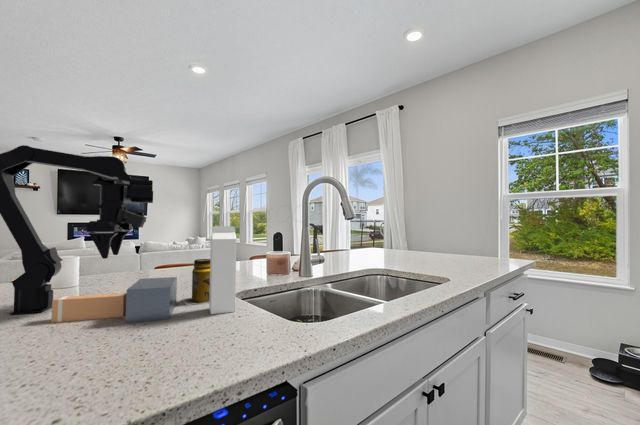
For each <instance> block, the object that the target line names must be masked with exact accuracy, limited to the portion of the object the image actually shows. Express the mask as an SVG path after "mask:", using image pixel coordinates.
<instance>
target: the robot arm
mask: <svg viewBox="0 0 640 425" xmlns="http://www.w3.org/2000/svg"><path fill="white" fill-rule="evenodd" d="M33 164H36V165H37V164H38V165H45V166H50V167H51V166H52V167H56V168H57V167H58V168H64V169H70V170H77V171H85V172H88V173H91V174H94V175H97V176H98V177H97V178H96V179H94V180H93V181H91V184H92V185H94V186H99V187H100V189H99V190H100V191H99V198H100V199H99V204H97V206H96V208H97V209H99V217H98V218H99V219H96V220H90V221H89V222H88V223H86V225H85V232H86V233H88V236H90V238H91V240H92V241H93V243H94V245H95V246H96V249H97V250H98V253H99V255H100V257H101V258H102V259H105V260H106V259H108V257H109V255H110V250H111V252H112V254H113V255H114V256H118V255H119V253H120V249H121V246H122V243H123V240H124V238H125V236H127V235H128V234H130V233H131V231H132V230H133V226H134V227H136V228H144V225H145V223H146V222H147V217H146V216H145V213H144V212H142V211H136V212H135V213H134V212H131V211H128V207H127V206H126V205H125V188H126V199H127V200H130V201H131V203H140V204H141V203H142V204H143V203H144V204H153V203H154V190H153V188H154V187H153V182H154V181H153V180H151V179H146V180H139V179H132V178H131V175H129V174H128V173H127V172H126V170H127V169H126V167H125V164H124V162H123V161H122V159H120V158H119V157H116V156H108V155H105V156H104V155H103V156H101V155H95V156H94V155H93V156H86V155H85V156H84V155H79V154H72V153H69V152H68V153H66V152H60V151H55V150H50V149H49V150H48V149H45V148H44V149H43V148H37V147H32V146H29V145H24V144H23V145H19V146H17V147H14V148H13V149H11V150H8V151H4V152H1V153H0V216H1V218H2V219H3V221H4V223H5V224H6V228H8V230H9V231H10V234H11V235H12V237H13V239H14V240H15V242H16V244H17V246H18V247H19V249H20V252H21V263H22V266H23V271H24V272H23V273H22V274H21V275H19V276H18V277H17V278H16V279H14V280H13V281H12V282H11V284H12V286H13V289H14V290H13V291H14V292H13V310H12V311H11V310H10V311H9V313H8V314H9V315H21V314H22V315H23V314H34V313H43V312H45V311H46V310H48V309H50V308H52V300H54V290H53V289H52V283H50V282H51V280H52V279H53V277H54V276H57V275H58V274H59V273H60V271H61V269H62V261H63V259H62V258H61V257H60V256H59V254H58V251H57V248H56V247H55V246H54V247H50V248H48V247H47V246H46V245H44V243H43V242H42V240H41V239H40V236H39V234H38V233H37V231H36V229H35V227H34V226H33V223H32V222H31V220H30V219H29V216H28V215H27V213H26V211H25V209H24V207H23V206H22V204H21V201H20V200H19V199H18V197H17V195H16V186H15V182H14V178H13V176H16V175H18V174H19V173H21V172H23V171H24V170H25V169H26V168H28V167H29V166H30V165H33ZM102 177H104V178H107V179H103V178H102ZM116 180H118V181H120V182H122V183H117V181H116Z"/></svg>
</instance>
